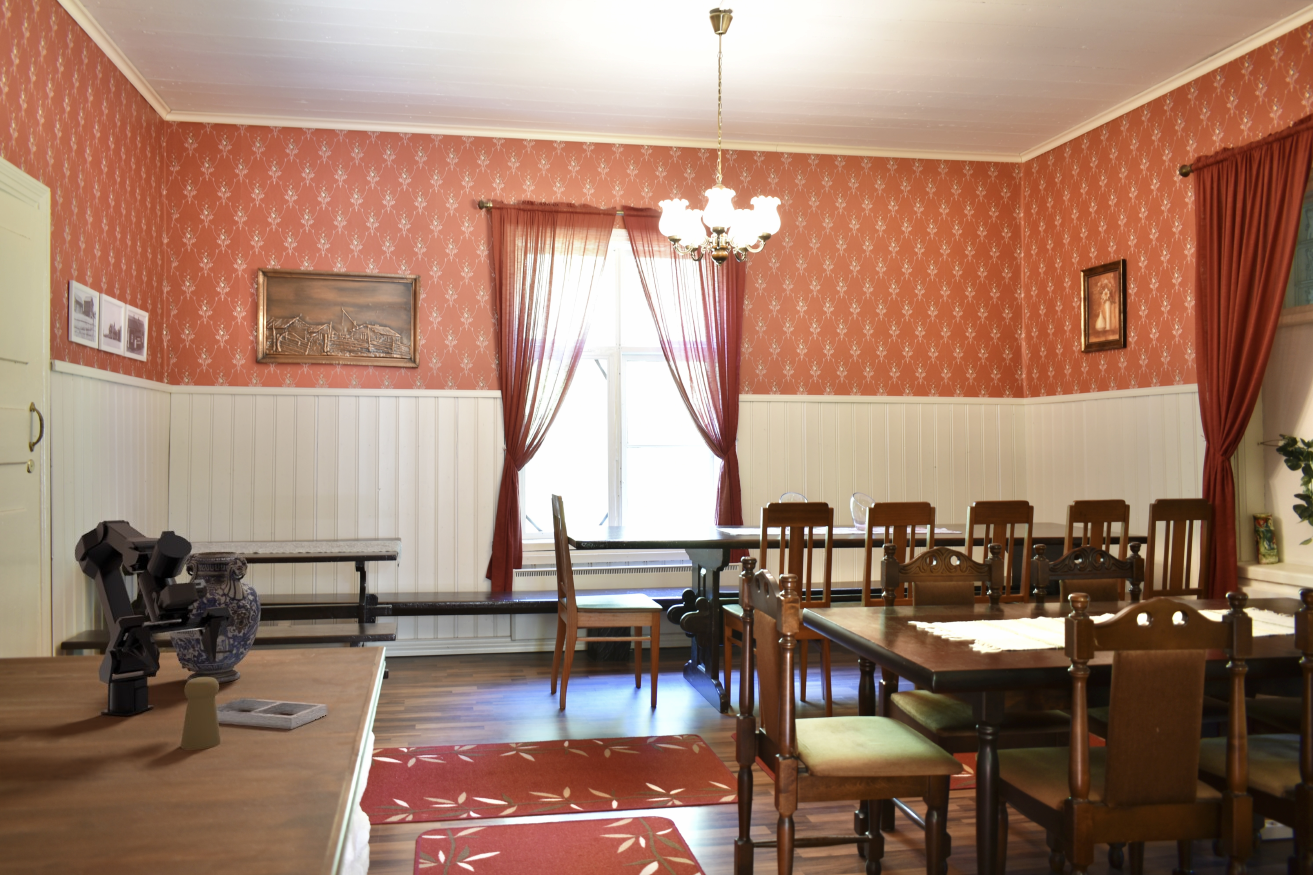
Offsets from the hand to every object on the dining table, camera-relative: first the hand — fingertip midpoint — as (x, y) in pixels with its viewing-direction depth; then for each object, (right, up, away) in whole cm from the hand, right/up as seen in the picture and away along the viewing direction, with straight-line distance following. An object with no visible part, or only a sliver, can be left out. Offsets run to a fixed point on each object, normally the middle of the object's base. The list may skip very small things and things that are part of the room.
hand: (186, 664), depth 159 cm
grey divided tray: (+9, -13, +12) cm, 20 cm away
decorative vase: (-17, -15, +45) cm, 51 cm away
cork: (+5, -12, -5) cm, 14 cm away
